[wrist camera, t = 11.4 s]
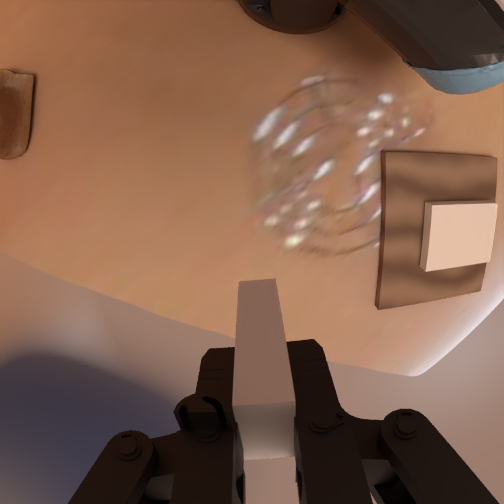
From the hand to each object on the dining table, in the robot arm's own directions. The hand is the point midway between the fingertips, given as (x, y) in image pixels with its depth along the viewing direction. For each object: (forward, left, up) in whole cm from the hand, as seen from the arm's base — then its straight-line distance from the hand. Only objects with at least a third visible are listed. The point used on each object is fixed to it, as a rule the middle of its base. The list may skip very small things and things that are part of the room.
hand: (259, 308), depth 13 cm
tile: (+8, +24, -27) cm, 37 cm away
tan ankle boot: (-18, -35, -30) cm, 49 cm away
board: (+8, +29, -29) cm, 42 cm away
